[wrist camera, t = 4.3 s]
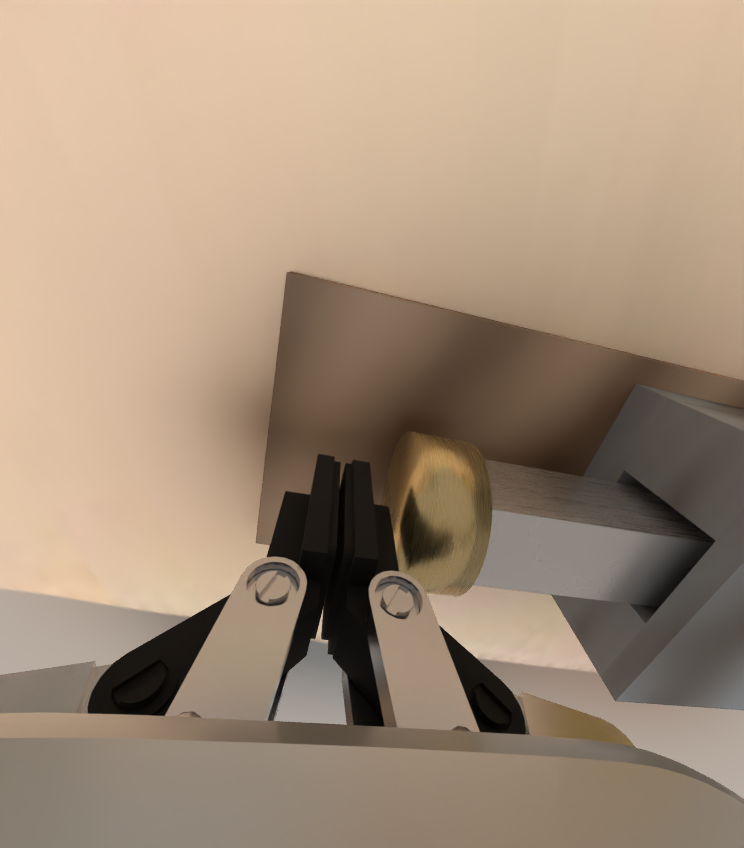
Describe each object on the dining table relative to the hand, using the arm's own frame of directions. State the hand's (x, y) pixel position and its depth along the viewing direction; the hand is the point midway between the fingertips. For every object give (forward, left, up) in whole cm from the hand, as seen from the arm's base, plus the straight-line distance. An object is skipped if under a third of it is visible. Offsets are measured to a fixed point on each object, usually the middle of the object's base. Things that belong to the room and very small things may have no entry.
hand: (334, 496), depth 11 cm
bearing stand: (-10, 0, -4) cm, 11 cm away
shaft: (-8, 0, -2) cm, 9 cm away
